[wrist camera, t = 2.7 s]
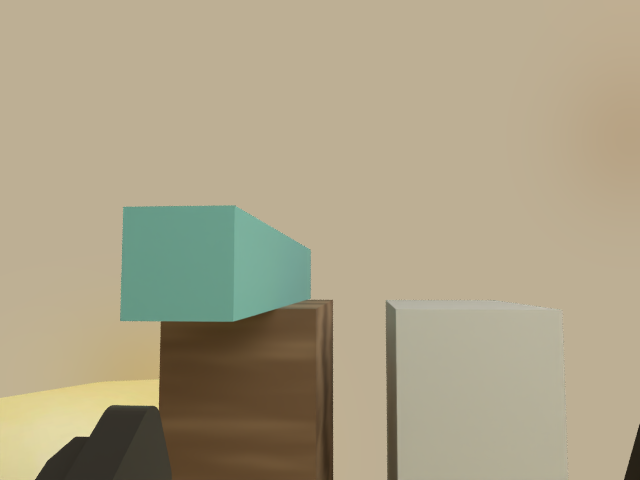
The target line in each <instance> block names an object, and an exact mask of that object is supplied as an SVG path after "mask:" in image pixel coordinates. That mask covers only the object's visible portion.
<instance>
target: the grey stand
mask: <svg viewBox="0 0 640 480" xmlns="http://www.w3.org/2000/svg"><path fill="white" fill-rule="evenodd" d="M563 343H564V341H563V313H562V310H559V309H552V308H545V307H537V306H531V305H524V304H517V303H510V302H503V301H495V300H386V369H387V370H386V373H387V473H388V475H387V476H388V477H387V478H388V479H387V480H568V460H567V459H568V457H567V429H566V401H565V400H566V399H565V373H564V372H565V370H564V344H563Z"/></svg>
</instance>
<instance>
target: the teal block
mask: <svg viewBox="0 0 640 480" xmlns="http://www.w3.org/2000/svg"><path fill="white" fill-rule="evenodd" d="M123 208H124V209H123V241H122V242H123V244H122V277H121V313H120V321H204V322H234V321H237V320H241V319H244V318H247V317H251V316H254V315H257V314H261V313H264V312H267V311H271V310H274V309H278V308H281V307H284V306H288V305H291V304H294V303H298V302H301V301H304V300H308V299H310V298H311V297H310V296H311V295H310V291H311V288H310V287H311V284H310V283H311V282H310V281H311V280H310V279H311V278H310V277H311V269H310V268H311V267H310V266H311V265H310V264H311V256H310V255H311V251H310V249H308V248H307V247H305V246H303V245H302V244H300V243H298V242H296V241H294V240H293V239H291V238H289V237H288V236H286V235H284V234H283V233H281V232H279V231H278V230H276V229H274V228H272V227H270V226H269V225H267V224H266V223H263V222H262V221H260V220H258V219H257V218H255V217H254V216H252V215H250V214H248V213H247V212H245V211H243V210H242V209H240V208H238V207H236V206H163V207H162V206H158V207H156V206H155V207H123Z"/></svg>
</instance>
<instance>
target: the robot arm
mask: <svg viewBox="0 0 640 480" xmlns="http://www.w3.org/2000/svg"><path fill="white" fill-rule="evenodd" d="M35 480H172V472H171V466H170V461H169V456H168V451H167V446H166V441H165V436H164V432H163V427H162V422H161V417H160V413H159V410H158V409H157V407H155V406H124V405H112V406H110V407H108V408H107V409H106V410H105V412H104V413H103V415H102V417H101V418H100V420H99V422H98V423H97V425H96V427H95V428H94V430H93V432H92V433H91V435H90V437H75V438H73V439H72V440H71V441H70V442H69V443H68V444H66V445H65V446H64V447H63V448H62V449H61V450H60V451H58V452H57V453H56V454H55V455H54V456H53V457H51V458H50V459H49V460H48V461H47V462H46V464H45V465H44V467H43V468H42V470H41V472H40V473H39V475H38V476H37V478H36V479H35ZM624 480H640V425H639V428H638V432H637V436H636V439H635V442H634V446H633V450H632V453H631V457H630V460H629V464H628V467H627V471H626V475H625V479H624Z"/></svg>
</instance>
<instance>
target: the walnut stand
mask: <svg viewBox="0 0 640 480" xmlns="http://www.w3.org/2000/svg"><path fill="white" fill-rule="evenodd" d="M159 413H160V417H161V422H162V427H163V432H164V436H165V441H166V446H167V451H168V456H169V461H170V466H171V472H172V480H333V300H304V301H301V302H298V303H294V304H291V305H288V306H284V307H281V308H278V309H274V310H271V311H267V312H264V313H261V314H257V315H254V316H251V317H247V318H244V319H241V320H237V321H234V322H204V321H161V343H160V385H159Z"/></svg>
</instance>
